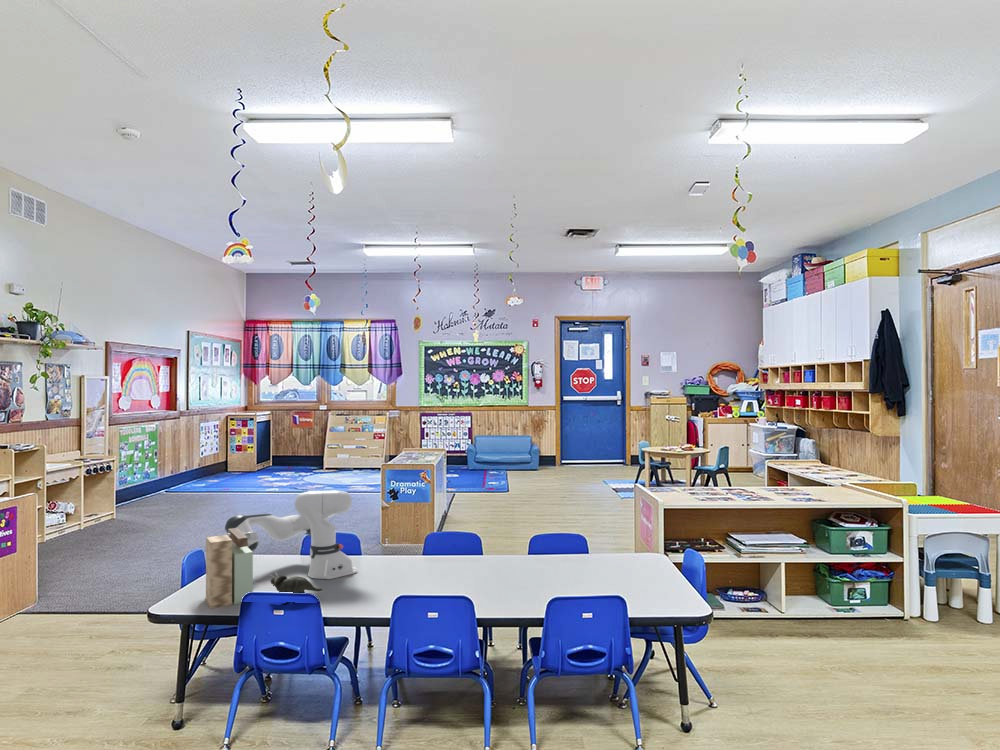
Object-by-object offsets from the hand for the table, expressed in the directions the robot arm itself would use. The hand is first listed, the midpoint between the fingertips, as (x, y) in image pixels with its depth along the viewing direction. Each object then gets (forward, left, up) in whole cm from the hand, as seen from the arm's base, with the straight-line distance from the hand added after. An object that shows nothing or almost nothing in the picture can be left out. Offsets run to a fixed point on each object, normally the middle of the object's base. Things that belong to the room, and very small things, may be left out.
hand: (235, 534), depth 276 cm
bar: (0, +4, -2) cm, 5 cm away
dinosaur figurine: (-18, +25, -25) cm, 40 cm away
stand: (+8, +10, -25) cm, 28 cm away
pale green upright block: (0, +8, -25) cm, 26 cm away
